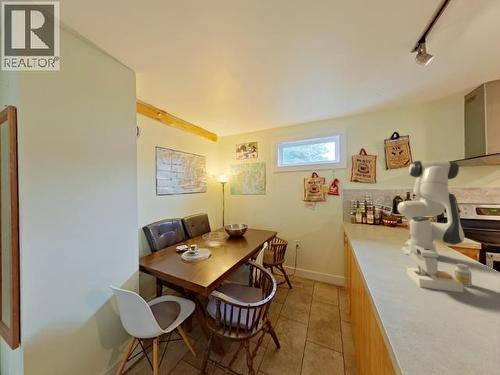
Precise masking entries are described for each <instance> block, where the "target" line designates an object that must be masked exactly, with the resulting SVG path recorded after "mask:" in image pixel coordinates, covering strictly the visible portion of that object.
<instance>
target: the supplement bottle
mask: <svg viewBox="0 0 500 375" xmlns="http://www.w3.org/2000/svg"><path fill="white" fill-rule="evenodd" d="M454 273H455V274H454V278H455V279H457V280H458V281H460V282H461V283H462V284H463V287H466V288H469V287H472V286H473V284H472V283H473V282H472V271H471V270H470V266H469V265H467V264H464V263H457V264H456V267H455V268H454Z"/></svg>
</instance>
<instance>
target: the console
mask: <svg viewBox="0 0 500 375" xmlns="http://www.w3.org/2000/svg"><path fill="white" fill-rule="evenodd" d="M406 270H407V272H406V273H407V275H408V277H410V279H411V280H412V281H413V282H414V283H415V284H416V285H417V286H418V287H419V288H426V289H433V290H440V291H449V292H456V293H464V286H463V284H462V283H461V282H460V281H458V280H457V279H455V276H452V279H447V278H438V277H437V276H436V275H435V274H433V273H427V272H426V274H427V275H428V276H419V275H417V274H416V273H415V272H417V273H419V269H418V267H416V268H415V267H406ZM437 271H440V269H439V270H437ZM429 276H430V277H429Z"/></svg>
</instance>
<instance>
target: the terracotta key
mask: <svg viewBox="0 0 500 375" xmlns="http://www.w3.org/2000/svg"><path fill="white" fill-rule="evenodd" d="M435 275H436V276H437V277H438V278H447V279H452V277H453V275H452V274H450V273H449V272H448V271H445V270H439V271H437V273H436V274H435Z"/></svg>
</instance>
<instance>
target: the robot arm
mask: <svg viewBox="0 0 500 375" xmlns="http://www.w3.org/2000/svg"><path fill="white" fill-rule="evenodd" d="M459 166H460V165H459V164H458V163H457V162H454V161H445V160H444V161H443V160H422V161H421V160H416V161H413V162H412V163H410V165H409V167H408V173H409V176H410V177H413V178H416V179H415V182H414V186H413V191H412V192H413V194H414V196H416V197H418V198H420V199H419V200H405V201H401V202H399V203H398V204H397V211H398V213H399V214H400V215H402V216H403V217H404V218H406V220H407V221H408V224H409V236H408V240H407V241H405V242H404V243H403V246H402V248H401V249H402V251H403V253H404V254H405V255H408V256H409V258H410V260H412V262H414V263H415V264H416V266H417V267H416V268H418V269H419V273H420V274H421V275H422V276H426V272H427V273H433V274H436V273H437V270H438V268H439V265H438V264H439V263H438V258H439V257H440V255H439V253H438V252H437V250H436V249H437V248H436V244H435V243H433V241H434V242H440V243H443V244H444V243H445V244H449V245H452V246H455V245H459V244H461V243H462V242H464V240H465V233H464V229H463V226H462V222H461V215H460V208H459V204H458V201H457V200H458V199H457V197H456V196H455V194H453V193H451V192H450V191H449V187H448V186H449V180H453V179H455V178H457V176H458V174H460V173H459V172H460V167H459ZM444 210H445V211H446V218H447V222H445V223H444V222H434V221H431V219H430V218H429V217H435V216H439V215H442V214H443V213H444Z"/></svg>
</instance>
